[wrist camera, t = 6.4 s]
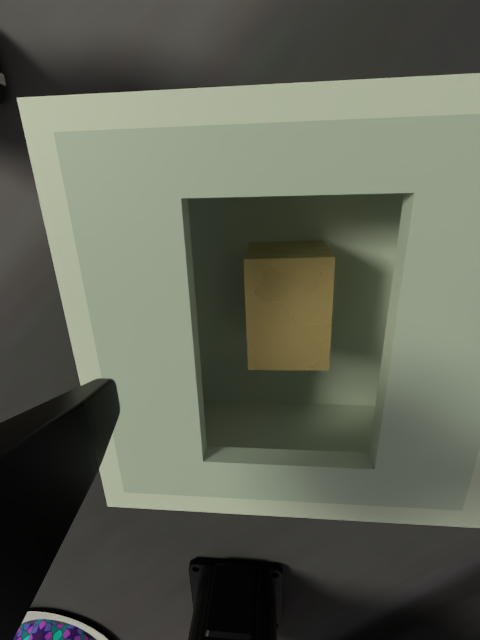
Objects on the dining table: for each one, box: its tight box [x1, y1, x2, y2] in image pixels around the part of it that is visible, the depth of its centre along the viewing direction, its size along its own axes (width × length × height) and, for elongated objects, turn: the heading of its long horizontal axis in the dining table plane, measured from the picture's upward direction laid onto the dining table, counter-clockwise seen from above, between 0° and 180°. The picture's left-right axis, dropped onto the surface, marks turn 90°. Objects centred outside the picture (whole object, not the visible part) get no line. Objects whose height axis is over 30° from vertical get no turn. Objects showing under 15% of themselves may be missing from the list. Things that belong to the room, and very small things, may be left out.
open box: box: [17, 73, 480, 528], centre depth 14 cm, size 14×14×7 cm
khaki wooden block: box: [244, 240, 335, 371], centre depth 15 cm, size 4×3×4 cm
